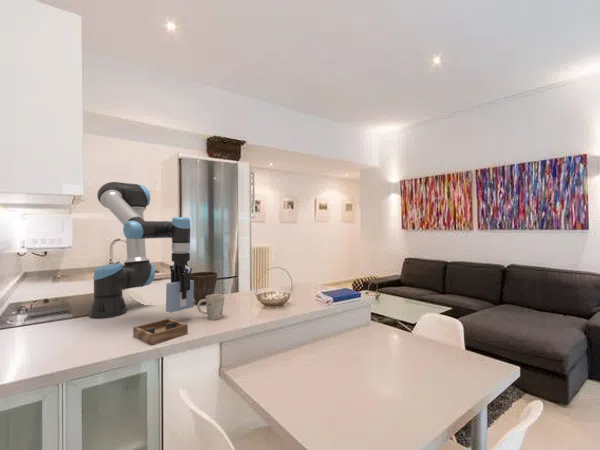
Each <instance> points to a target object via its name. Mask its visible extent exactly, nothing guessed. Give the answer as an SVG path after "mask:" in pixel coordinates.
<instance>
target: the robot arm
mask: <svg viewBox="0 0 600 450" xmlns="http://www.w3.org/2000/svg"><path fill="white" fill-rule="evenodd" d="M97 200H98V202H99V203H100V204H101V206H102V207H104V208H106V209H108V210H109V211H110V212H111V213H112V214H113V216H115V218H117V219H118V221H119V222H120V224H122V225H123V228H122V229H123V235H124V237H125V240H126V243H125V244H126V260H125V261H124V262H123V264H122V263H119V262H118V263H110V264H109V263H108V264H104V265H101V266H98V267H96V268H95V269H94V271H93V278H92V279H93V300H92V303H91V306H90V308H89V313H88V314H89V315H88V317H89V318H92V319H105V318H114V317H117V316H121V315H123V314H126V313H127V310H128V309H127V308H128V307H127V304H126V302H125V298H124V297H123V290H129V289H135V288H143V287H146V286H150V285H151V284H152V283H153V281H154V279H155V275H156V268H155V265H154V264H153V263H151V261H150V259H149V258H148V257H147V256H146V255H147V252H146V239H171V246H170V247H171V252H172V253H171V262H172V263H173V265H169V268H170V269H169V270H170V283H172V282H178V281H180V285H181V291H179V292H180V307H183V306H186V294H187V291H188V290H190V279H191V273H192V270H193V269H192V268H191V267H190V268H189V265H188V262H189V261H191V253H190V252H191V228H192V226H191V219H190V218H189V217H183V216H182V217H181V216H179V217H176V216H174V217H172V220H171V221H168V220H163V221H162V220H160V221H156V220H155V221H153V220H151V221H150V220H145V219H144V212H145V211H146V209H147V207H148V206H149V205H150V204H151V203H150V201H151V194H150V190H149V189H148V188H147V187H146V186H145V185H142V184H137V183H130V182H129V183H127V182H119V181H111V182H110V181H109V182H106V183H105V184H103V185H101V187H100V188H99V189H98V191H97Z"/></svg>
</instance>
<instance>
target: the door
mask: <svg viewBox="0 0 600 450" xmlns="http://www.w3.org/2000/svg"><path fill="white" fill-rule="evenodd" d="M165 286H166V287H165V288H166V289H165V290H166V291H165V292H166V293H165V294H166V296H165V299H166V300H165V311H166V312H168V313H169V314H171V313H175V312H179V311H180V312H181V311H183V310H188V309H191V308H194V301H195V300H194V281H193V280H190V290H188V291H187V294H186V306H183V307H180V292H179V291H181V285H180V281H178V282H172V283H171V282H166V285H165Z"/></svg>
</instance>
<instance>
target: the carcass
mask: <svg viewBox="0 0 600 450" xmlns="http://www.w3.org/2000/svg"><path fill="white" fill-rule="evenodd" d="M188 327H189V324H186V323H184V322H182V321H177V320H174V319H172V318H165V319H161V320H157V321H153V322H149V323H146V324H145V323H144V324H141V325H137V326H133V328H132V329H133V331H132V333H133V334H132V336H133V338H135V339H137V340H140V341H142V342H143V343H146V344H148V345H150V344H151V345H150V346H154V345H157V344H160V343H163V342H167V341H170V340H172V339H176V338H178V337H182V336H184V335H188V330H189V329H188Z"/></svg>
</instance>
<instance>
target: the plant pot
mask: <svg viewBox="0 0 600 450" xmlns="http://www.w3.org/2000/svg"><path fill="white" fill-rule="evenodd" d="M217 279H218V272H215V271H197V272H191V279H190V280H193V281H194V300H193V301H194V302H195V304H196V305H197V304H198V302H199V301H200V300H202V299H206V298H205V297H206V296H207V295H211V294H215V293H214V292H215V291H216V290H215V289H216V285H217ZM203 305H205V306H206V302H202V303H201V304H200V306H203Z"/></svg>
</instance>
